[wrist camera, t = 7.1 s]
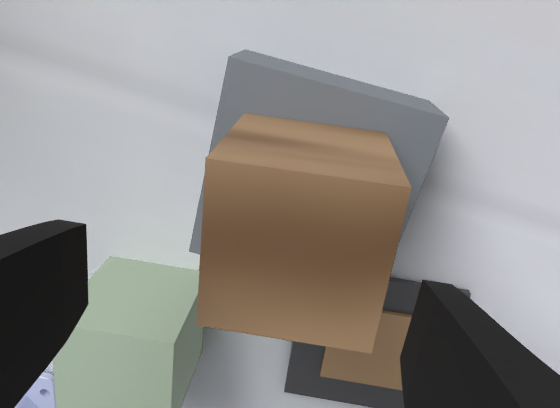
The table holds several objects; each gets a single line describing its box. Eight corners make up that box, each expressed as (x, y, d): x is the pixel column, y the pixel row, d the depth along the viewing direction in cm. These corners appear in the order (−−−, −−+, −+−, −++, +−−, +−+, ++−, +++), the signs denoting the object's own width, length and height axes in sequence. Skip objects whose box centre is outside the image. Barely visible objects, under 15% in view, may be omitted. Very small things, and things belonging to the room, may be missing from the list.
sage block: (202, 350, 23) (169, 436, 18) (112, 335, 23) (57, 416, 18) (208, 271, 21) (173, 343, 16) (110, 255, 21) (49, 322, 17)
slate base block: (367, 256, 20) (374, 302, 17) (211, 213, 20) (188, 251, 17) (427, 98, 18) (449, 117, 14) (247, 48, 17) (228, 56, 14)
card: (427, 412, 23) (430, 420, 22) (284, 387, 23) (283, 395, 22) (468, 290, 20) (471, 296, 19) (306, 263, 20) (305, 269, 20)
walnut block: (359, 257, 16) (371, 353, 12) (233, 238, 17) (196, 325, 12) (386, 132, 15) (411, 187, 10) (244, 113, 15) (205, 158, 10)
